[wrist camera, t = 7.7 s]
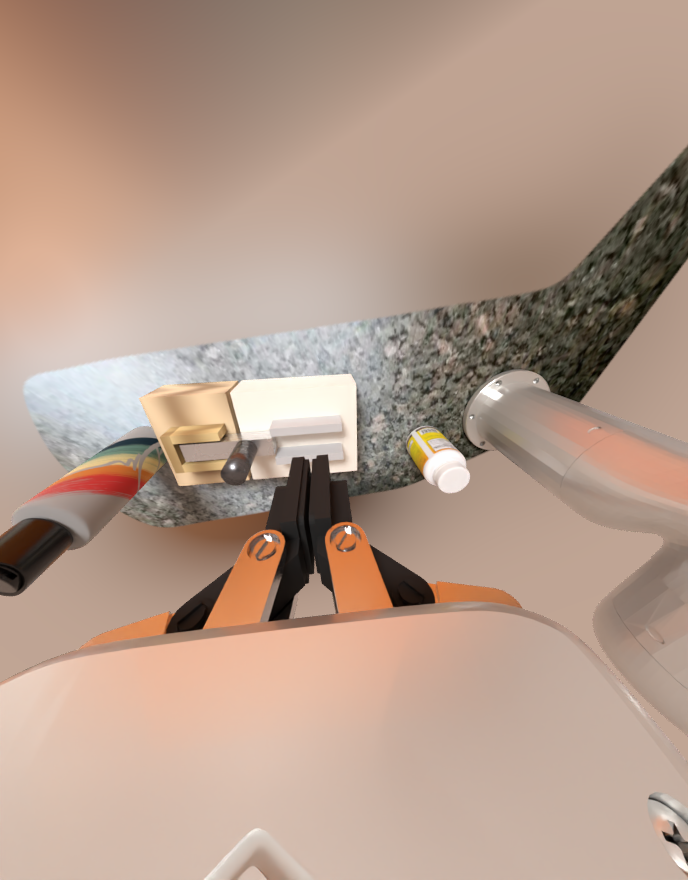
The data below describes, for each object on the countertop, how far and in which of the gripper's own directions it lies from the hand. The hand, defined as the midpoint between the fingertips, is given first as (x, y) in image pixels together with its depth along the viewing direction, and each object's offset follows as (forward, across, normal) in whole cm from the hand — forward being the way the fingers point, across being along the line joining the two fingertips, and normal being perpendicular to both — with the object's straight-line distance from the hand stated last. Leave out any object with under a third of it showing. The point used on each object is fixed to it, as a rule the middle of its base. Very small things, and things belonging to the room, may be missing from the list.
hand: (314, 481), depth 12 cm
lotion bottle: (+23, +24, +8) cm, 34 cm away
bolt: (+18, +11, +6) cm, 22 cm away
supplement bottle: (+24, -15, +12) cm, 30 cm away
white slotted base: (+23, +3, +7) cm, 24 cm away
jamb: (+23, +15, +6) cm, 28 cm away
